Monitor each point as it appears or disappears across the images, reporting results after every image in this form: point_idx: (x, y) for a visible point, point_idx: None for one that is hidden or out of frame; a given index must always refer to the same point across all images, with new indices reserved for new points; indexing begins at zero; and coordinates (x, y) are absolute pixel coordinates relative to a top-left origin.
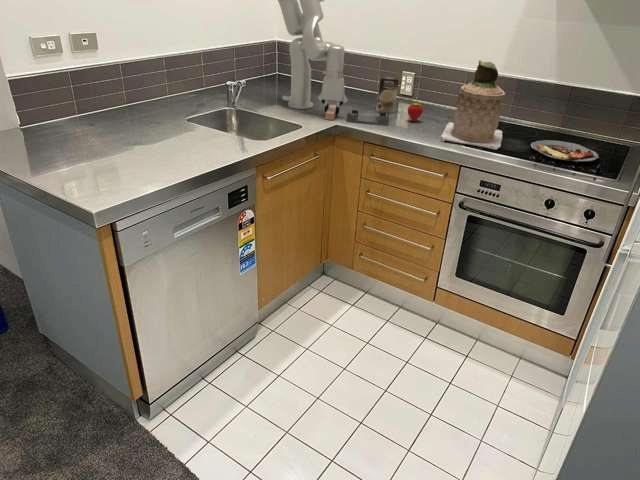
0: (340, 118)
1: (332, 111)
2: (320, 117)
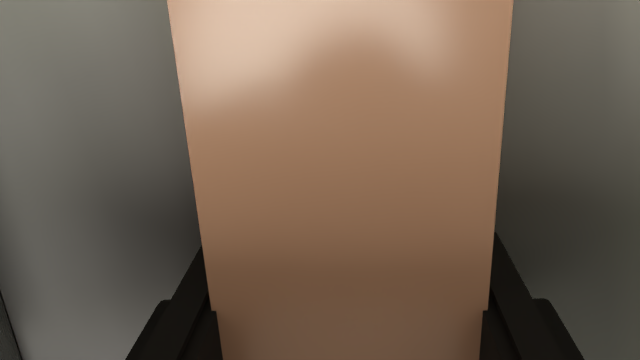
0: (119, 173)
1: (287, 184)
2: (604, 92)
